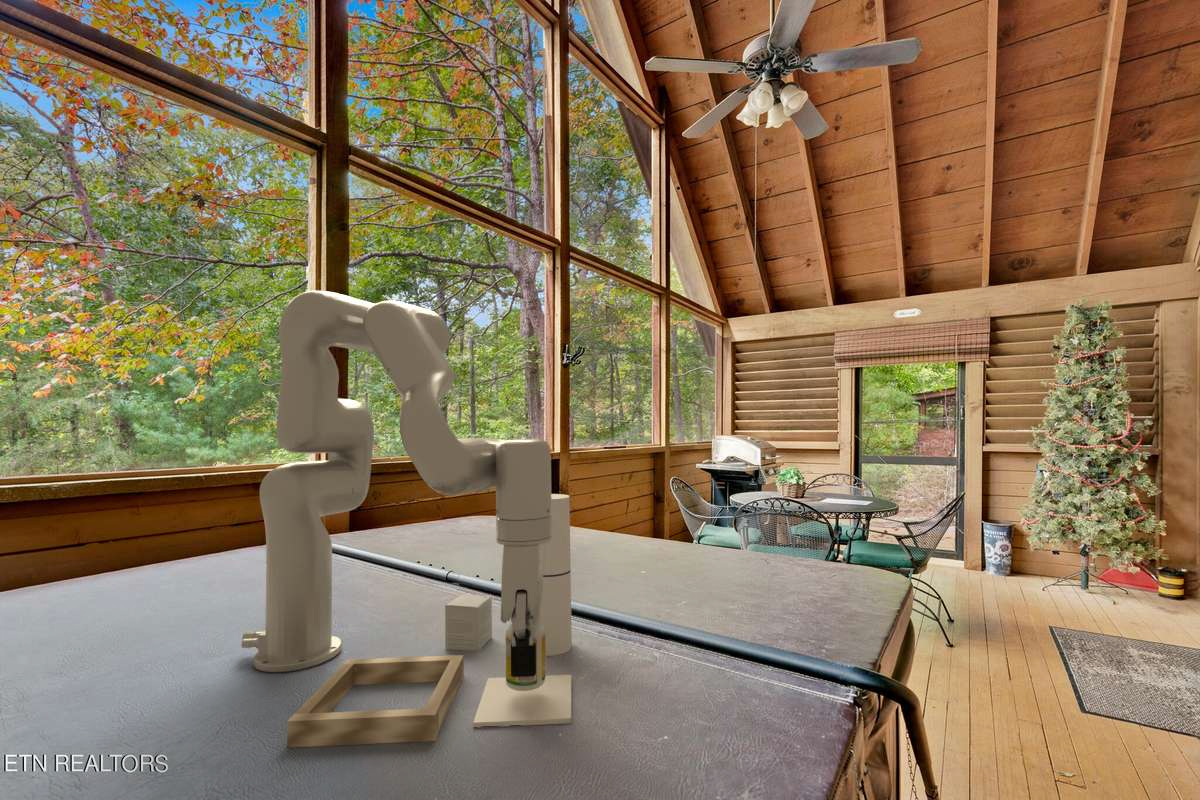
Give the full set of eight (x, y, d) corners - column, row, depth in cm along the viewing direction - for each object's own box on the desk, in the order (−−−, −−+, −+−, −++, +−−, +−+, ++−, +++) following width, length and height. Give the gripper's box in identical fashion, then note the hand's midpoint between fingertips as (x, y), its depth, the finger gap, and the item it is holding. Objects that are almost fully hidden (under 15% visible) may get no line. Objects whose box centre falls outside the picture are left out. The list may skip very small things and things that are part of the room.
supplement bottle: (524, 696, 70) (523, 619, 70) (497, 684, 73) (496, 611, 74) (554, 681, 74) (553, 608, 74) (527, 670, 77) (526, 601, 78)
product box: (461, 635, 97) (460, 593, 98) (493, 637, 96) (492, 595, 96) (444, 649, 91) (444, 604, 92) (478, 652, 90) (478, 606, 90)
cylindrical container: (565, 657, 87) (563, 499, 89) (522, 654, 89) (521, 499, 90) (576, 640, 94) (574, 494, 96) (536, 637, 96) (535, 493, 97)
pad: (473, 727, 67) (473, 722, 67) (488, 682, 79) (488, 678, 79) (571, 723, 68) (570, 718, 68) (571, 678, 80) (571, 674, 80)
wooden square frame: (287, 747, 63) (287, 721, 64) (347, 680, 80) (347, 659, 81) (435, 740, 64) (435, 714, 65) (463, 675, 81) (463, 655, 81)
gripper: (504, 519, 83) (505, 641, 82) (486, 543, 66) (487, 697, 65) (553, 518, 83) (555, 639, 82) (549, 541, 66) (551, 695, 65)
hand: (525, 663), depth 74 cm, fingers closed on supplement bottle, 5 cm apart
